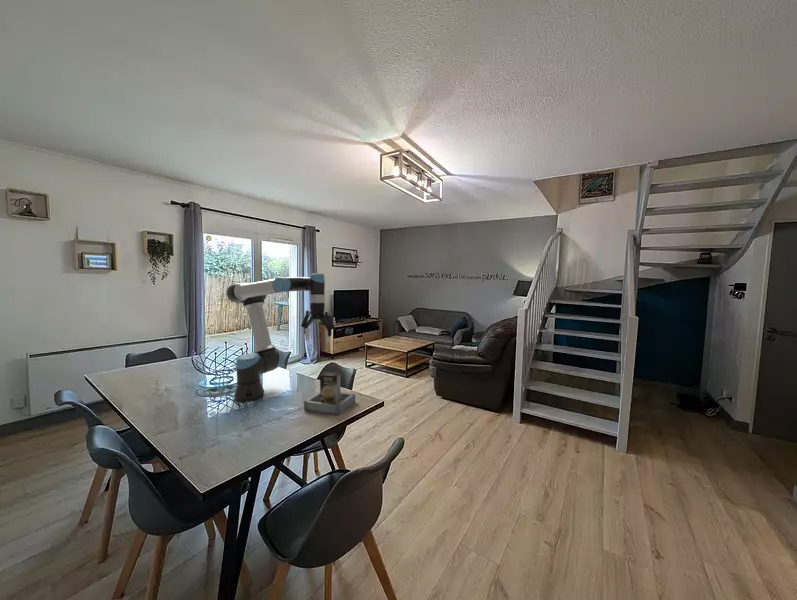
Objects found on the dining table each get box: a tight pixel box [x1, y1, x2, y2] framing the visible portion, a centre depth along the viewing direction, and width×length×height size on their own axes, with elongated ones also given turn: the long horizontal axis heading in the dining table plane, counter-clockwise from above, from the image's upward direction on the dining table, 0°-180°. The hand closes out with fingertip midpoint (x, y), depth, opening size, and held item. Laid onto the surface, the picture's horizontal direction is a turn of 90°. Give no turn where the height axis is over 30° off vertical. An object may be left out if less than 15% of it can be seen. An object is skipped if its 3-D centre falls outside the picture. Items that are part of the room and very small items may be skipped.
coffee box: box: [319, 371, 341, 405], centre depth 156 cm, size 9×6×16 cm
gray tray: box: [303, 391, 356, 417], centre depth 156 cm, size 20×17×4 cm
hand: (317, 341), depth 166 cm, fingers open, 13 cm apart
